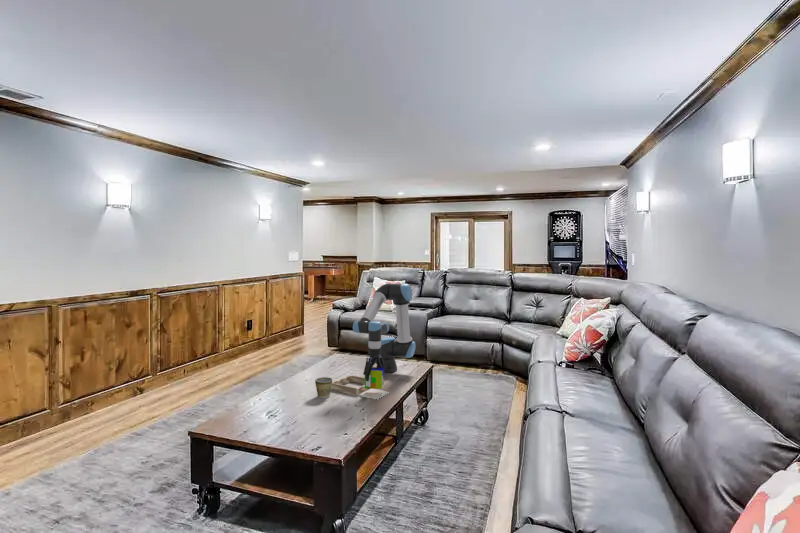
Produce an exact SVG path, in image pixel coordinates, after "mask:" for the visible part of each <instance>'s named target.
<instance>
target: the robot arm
mask: <svg viewBox="0 0 800 533" xmlns="http://www.w3.org/2000/svg"><path fill="white" fill-rule="evenodd" d="M412 300H413V290H412V287H411V286H410V284H408V283H391V282H389V283H385V284H383V285H381V286H380V287H378V288H377V289H376V290H375V291H374V293H373V294H372V299H371V301H370V302H369V304H368V306H367V308H366V310H365V311H364V313H363V314H362V316H361V318H360V319H359V320H355V321H354V322H353V324H352V330H353V333H356V334H366V335H368V345H367V346H368V347H367V349H368V351H367V353H368V355H369V357H366V360H365V365H364V370H363V373H362V374H363V375H364V376H365V375H366V386H369V387H370V377H371V375H370V373H371V370H372V367H374V366H375V364H376V367H380V368H384V374H385V373H386V374H387V373H388V374H389V373H394V372H397V371H398V365H397V361H396V357H397V358H405V359H407V358H409V359H410V358H413V356H414V355H415V351H416V342H415V341H413V337H412V336H411V332H410V330H411V328H410V316H409V305H410V303H411V301H412ZM386 301H392V304H393V305H394V306H395V314H396V315H395V316H396V326H397V328H396V329H397V331H396V332H397V337H393V336H392V337H391V336H390V337H384V338H382V336H383V335H386V334H387V333H388V332H389V331H390V326H389V325H390V324H389V323H388V322H386V321H377V320H375V321H374V319H375V317H376V316H377V314H378V313H379V311H380V309H381V308H382V305H383V304H385V303H386Z"/></svg>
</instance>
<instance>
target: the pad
mask: <svg viewBox="0 0 800 533" xmlns="http://www.w3.org/2000/svg"><path fill="white" fill-rule="evenodd" d="M387 394H388V395H390V391H386V390H383V389H369V390H367V391H365V392H363V393H361V394H359V395H358V396H359V397H363V398H367V399H368V398H369V399H371V398H372V399H371V400H376V399H377V400H380V399H382V398H384V397H386V396H387ZM385 395H386V396H385ZM383 396H384V397H383ZM381 397H382V398H381ZM379 398H380V399H379Z"/></svg>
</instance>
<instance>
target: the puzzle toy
mask: <svg viewBox="0 0 800 533" xmlns="http://www.w3.org/2000/svg"><path fill="white" fill-rule="evenodd" d="M370 375H371V377H370V387H369V386H366V375H364V378H365V384H364V385H365V386H364V388H369V389H377V390H383V386H384V384H385V372H384V368H380V367H377V366H376V367H375V366H373V367H372V370H371V373H370Z"/></svg>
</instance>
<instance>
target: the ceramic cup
mask: <svg viewBox="0 0 800 533" xmlns="http://www.w3.org/2000/svg"><path fill="white" fill-rule="evenodd" d="M314 381H315V382H314V383H315V388H316V394H317V397H318V398H319V399H327V398H329V397H330V395H331V391H332V390H331V385H332V382H333V378H332V377H328V376H326V377H325V376H322V377H318V378H316V379H315V380H314Z"/></svg>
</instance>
